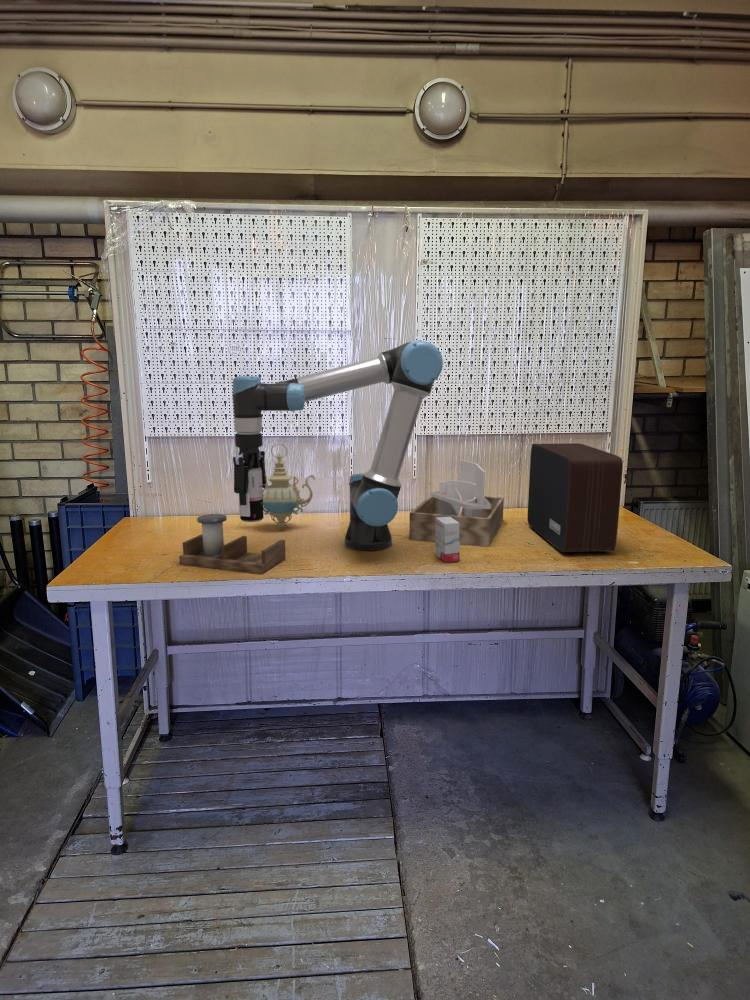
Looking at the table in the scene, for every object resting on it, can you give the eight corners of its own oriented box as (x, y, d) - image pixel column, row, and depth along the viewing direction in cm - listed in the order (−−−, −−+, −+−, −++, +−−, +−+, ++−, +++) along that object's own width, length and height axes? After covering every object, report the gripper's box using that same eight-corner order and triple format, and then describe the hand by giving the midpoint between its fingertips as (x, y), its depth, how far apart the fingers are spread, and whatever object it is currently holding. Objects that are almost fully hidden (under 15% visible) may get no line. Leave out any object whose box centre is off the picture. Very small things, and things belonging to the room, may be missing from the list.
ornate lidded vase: (244, 533, 212) (240, 446, 206) (250, 524, 223) (246, 441, 217) (314, 532, 213) (312, 445, 206) (317, 524, 224) (315, 441, 217)
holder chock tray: (502, 521, 227) (503, 497, 225) (488, 546, 196) (489, 519, 195) (433, 516, 235) (433, 492, 233) (409, 539, 205) (409, 512, 203)
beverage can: (237, 522, 175) (234, 469, 172) (244, 516, 182) (242, 465, 178) (259, 522, 175) (257, 470, 171) (266, 517, 181) (264, 466, 178)
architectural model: (416, 526, 223) (417, 461, 217) (464, 519, 232) (466, 457, 227) (463, 546, 199) (465, 474, 193) (514, 537, 208) (517, 468, 203)
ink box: (460, 562, 182) (461, 522, 179) (443, 563, 181) (444, 524, 178) (449, 553, 190) (450, 515, 187) (434, 554, 189) (434, 516, 186)
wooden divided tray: (285, 559, 184) (285, 539, 183) (262, 574, 172) (261, 553, 170) (207, 550, 193) (206, 532, 192) (179, 564, 180) (178, 544, 179)
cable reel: (234, 553, 188) (232, 515, 185) (218, 561, 180) (216, 522, 177) (210, 550, 190) (207, 513, 188) (193, 558, 183) (191, 519, 180)
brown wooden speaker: (621, 556, 187) (629, 457, 180) (563, 557, 186) (570, 458, 179) (575, 525, 222) (581, 441, 216) (526, 526, 221) (530, 442, 215)
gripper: (254, 428, 183) (257, 504, 188) (217, 435, 165) (221, 520, 170) (277, 429, 181) (279, 506, 186) (242, 437, 163) (245, 522, 168)
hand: (251, 512), depth 178 cm, fingers closed on beverage can, 6 cm apart
